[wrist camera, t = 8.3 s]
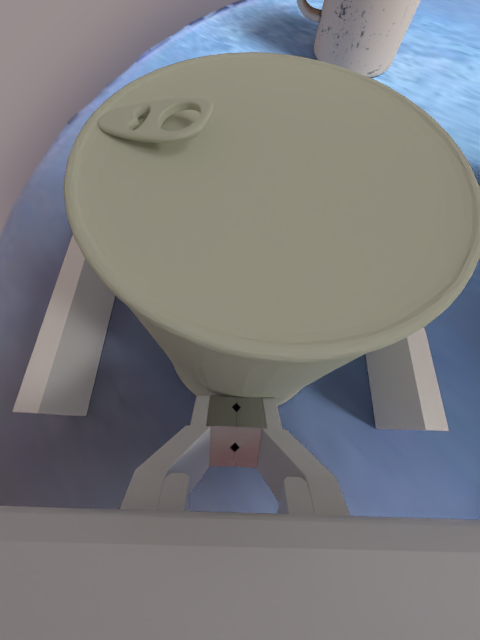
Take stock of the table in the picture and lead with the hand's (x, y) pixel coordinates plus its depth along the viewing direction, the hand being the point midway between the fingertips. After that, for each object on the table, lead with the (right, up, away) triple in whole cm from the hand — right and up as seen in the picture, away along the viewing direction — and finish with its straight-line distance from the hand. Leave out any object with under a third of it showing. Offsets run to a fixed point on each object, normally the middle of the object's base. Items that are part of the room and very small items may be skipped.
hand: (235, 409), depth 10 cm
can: (0, +2, +6) cm, 7 cm away
